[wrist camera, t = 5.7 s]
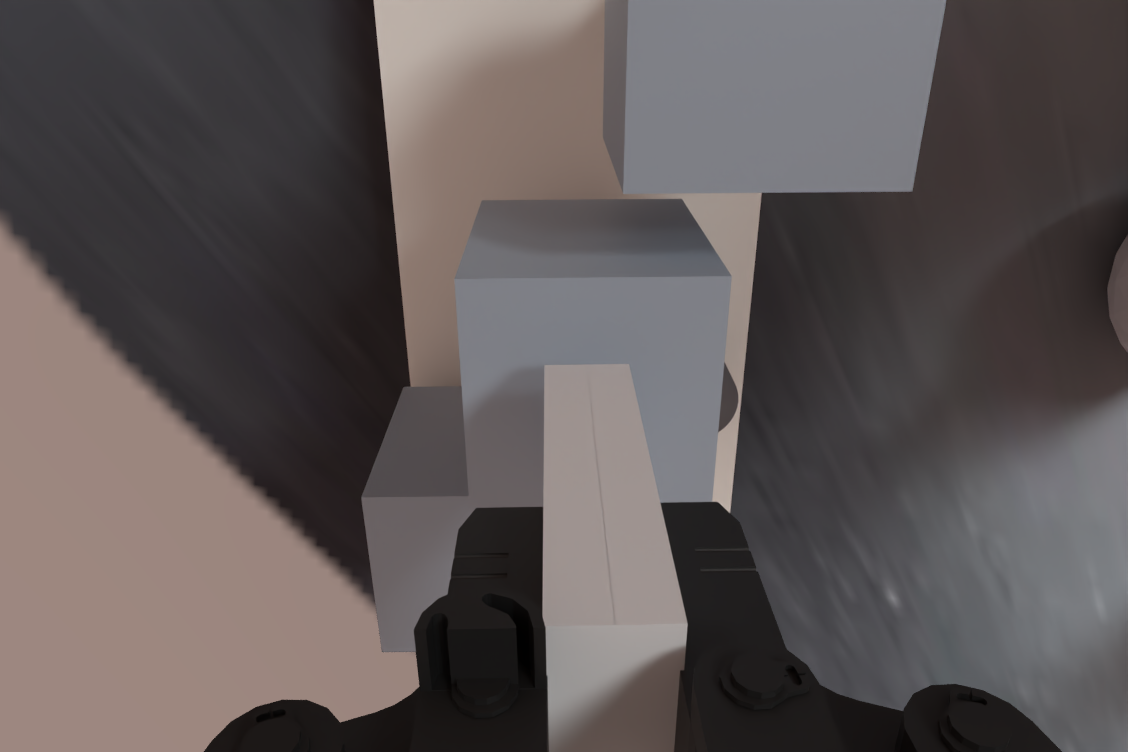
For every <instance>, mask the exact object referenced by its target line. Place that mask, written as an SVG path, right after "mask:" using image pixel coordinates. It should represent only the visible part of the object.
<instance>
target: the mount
mask: <svg viewBox="0 0 1128 752" xmlns="http://www.w3.org/2000/svg"><path fill="white" fill-rule="evenodd" d="M374 10H375V21H376V31H377V42H378V52H379V62H380V73H381V83H382V93H383V104H384V114H385V125H386V135H387V145H388V156H389V166H390V177H391V187H392V197H393V208H394V218H395V229H396V239H397V249H398V260H399V270H400V281H401V291H402V301H403V312H404V322H405V333H406V343H407V353H408V364H409V374H410V385H411V387H435V386H461V372H460V357H459V342H458V327H457V312H456V296H455V281H454V278H455V275H456V273H457V270H458V267H459V264H460V261H461V258H462V255H463V253H464V250H465V247H466V244H467V241H468V238H469V235H470V233H471V230H472V227H473V224H474V221H475V218H476V215H477V213H478V210H479V207H480V204H481V201H482V200H580V199H682V200H683V201H684V203H685V204H686V206H687V208H688V209H689V211H690V212H691V214H692V215H693V217H694V218H695V220H696V222H697V223H698V225H699V226H700V228H701V229H702V231H703V232H704V234H705V235H706V237H707V239H708V240H709V242H710V243H711V245H712V246H713V248H714V249H715V251H716V253H717V254H718V256H719V257H720V259H721V260H722V262H723V263H724V265H725V266H726V268H727V270H728V271H729V273H730V274H731V276H732V280H731V291H730V303H729V314H728V326H727V337H726V349H725V360H724V362H725V364H726V366H727V368H728V370H729V372H730V374H731V376H732V378H733V381H734V383H735V385H736V387H737V391H738V407H737V410H736V413H735V415H734V417H733V418H732V420H731V421H730V422H729V424H728V425H727V426H726V427H725V428H724V429H722V430H721V431H719V432H718V440H717V452H716V463H715V475H714V486H713V498H712V502H718V503H720V504H721V505H722V506H723V507H724V508H725V509H726V510H727V511H728V512H729V513H730V508H731V498H732V488H733V477H734V467H735V457H736V447H737V437H738V427H739V417H740V407H741V397H742V387H743V377H744V367H745V357H746V346H747V336H748V326H749V316H750V306H751V296H752V286H753V276H754V266H755V256H756V246H757V236H758V225H759V215H760V205H761V195H762V193H674V194H623V192H622V189H621V186H620V184H619V181H618V178H617V175H616V173H615V170H614V167H613V164H612V162H611V159H610V156H609V153H608V150H607V148H606V145H605V142H604V139H603V90H604V22H605V0H374Z"/></svg>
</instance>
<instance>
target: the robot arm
mask: <svg viewBox="0 0 1128 752" xmlns="http://www.w3.org/2000/svg"><path fill="white" fill-rule="evenodd" d="M414 639H415V648H416V658H417V667H418V676H419V685H420V687H419V688H418V689H416V690H415V691H414V692H413V693H412V694H411V695H410V696H408V697H406V698H405V699H403V700H402V701H400V702H398V703H397V704H395V705H393V706H391V707H388V708H385V709H383V710H380V711H378V712H375V713H372V714H368V715H365V716H361V717H358V718H354V719H351V720H348V721H345V722H341V723H340V722H339V721H338V720H337V719H336V718H335V716H334V715H333V714H332V713H331V712H330V711H329V709H328V708H326V707H323V706H321V705H318V704H316V703H313V702H311V701H308V700H280V701H276V702H273V703H270V704H265V705H262V706H259V707H255V708H254V709H252V710H250V711H249V712H247V713H245V714H243V715H242V716H240V717H238V718H236V719H235V720H233V721H232V722H230V723H229V724H228V725H227V726H226V728H224V729H223V730H222V731H221V732H220V733H219V734H218V735H217V736H216V738H214V739H213V740H212V742H211V743H210V744H209V745H208V747H207V748H206V749H205V751H204V752H1062V751H1061V750H1060V749H1059V748H1058V747H1057V746H1056V745H1055V744H1054V743H1053V742H1052V741H1051V740H1050V739H1049V738H1048V737H1047V736H1046V735H1045V734H1044V733H1043V732H1042V731H1041V730H1040V729H1039V728H1038V727H1037V726H1036V725H1035V724H1034V723H1033V722H1032V721H1031V720H1030V719H1029V718H1027V717H1026V716H1025V715H1024V714H1022V713H1021V712H1020V711H1019V710H1017V709H1016V708H1015V707H1014V706H1012V705H1011V704H1010V703H1008V702H1006V701H1004V700H1002V699H1000V698H998V697H996V696H994V695H991V694H989V693H987V692H985V691H983V690H979V689H975V688H971V687H966V686H962V685H957V684H947V685H931V686H929V687H927V688H925V689H923V690H920V691H918V692H916V693H914V694H913V695H912V697H911V699H910V700H909V702H908V703H907V705H906V706H905V708H904V711H900V710H895V709H891V708H887V707H883V706H879V705H874V704H870V703H866V702H862V701H858V700H855V699H852V698H849V697H845V696H842V695H839V694H837V693H835V692H833V691H831V690H829V689H827V688H825V687H823V686H821V685H819V682H818V681H817V679H816V678H815V676H814V675H813V673H812V672H811V670H810V669H809V667H808V666H807V665H806V664H805V663H804V662H802V661H801V660H800V659H798V658H797V657H796V656H795V655H793V654H792V653H791V652H789V651H788V650H787V649H786V647H785V644H784V641H783V639H782V636H781V633H780V631H779V628H778V625H777V622H776V620H775V617H774V614H773V612H772V609H771V606H770V604H769V601H768V598H767V595H766V593H765V590H764V587H763V585H762V582H761V579H760V576H759V574H758V572H756V566H755V563H754V560H753V558H752V555H751V552H750V551H749V550H748V544H747V541H746V539H745V536H744V533H743V530H742V528H741V525H740V522H739V521H738V520H737V519H735V518H734V517H733V516H732V515H731V514H730V513H729V512H728V511H727V510H726V509H725V508H724V507H723V506H722V505H721V504H720V503H718V502H664V503H660V499H659V495H658V490H657V486H656V481H655V477H654V473H653V468H652V464H651V459H650V455H649V450H648V446H647V442H646V437H645V433H644V428H643V424H642V419H641V415H640V411H639V406H638V402H637V397H636V393H635V388H634V384H633V380H632V375H631V371H630V366H629V364H583V365H544V485H543V507H493V508H476V509H475V510H474V511H473V512H472V513H471V515H470V516H469V517H468V518H467V519H466V521H465V522H464V523H463V524H462V525H461V527H460V528H459V529H458V535H457V540H456V546H455V552H454V559H453V564H452V570H451V579H450V582H449V588H448V594H447V595H445V596H443V597H441V598H438V599H437V600H436V601H435V602H434V603H433V604H431V605H430V606H429V607H428V608H427V609H426V610H425V611H423V612H422V614H421V616H420V618H419V620H418V622H417V624H416V626H415V628H414Z"/></svg>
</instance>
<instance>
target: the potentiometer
mask: <svg viewBox="0 0 1128 752" xmlns="http://www.w3.org/2000/svg"><path fill="white" fill-rule="evenodd" d="M737 407H738V391H737V387H736V385H735V383H734V381H733V378H732V376H731V374H730V372H729V370H728V368H727V366H726V364H725V362H724V371H723V383H722V394H721V406H720V417H719V429H718V432H719V431H721V430H722V429H724V428H725V427H726V426H727V425H728V424H729V422H730V421H731V420H732V418H733V417H734V415H735V413H736V410H737Z"/></svg>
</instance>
